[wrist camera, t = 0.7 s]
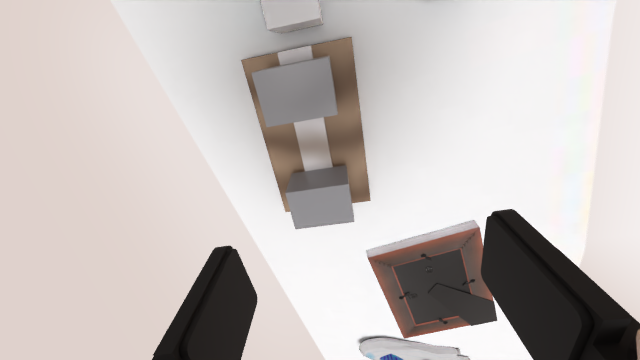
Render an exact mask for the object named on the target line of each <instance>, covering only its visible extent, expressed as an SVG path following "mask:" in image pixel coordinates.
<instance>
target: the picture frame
mask: <svg viewBox="0 0 640 360" xmlns="http://www.w3.org/2000/svg"><path fill="white" fill-rule="evenodd" d="M482 254H483V244H482V238H481V233H480V228H479V226H478V225H477V223H476V222H475V221H474V220H473V221H469V222H465V223H462V224H458V225H455V226H451V227H448V228H444V229H441V230H437V231H434V232H430V233H427V234H423V235H420V236H416V237H413V238H409V239H406V240H402V241H399V242H395V243H392V244H388V245H385V246H381V247H378V248H374V249H371V250H367V257H368V260H369V262H370V264H371V266H372V268H373V271H374V273H375V275H376V277H377V280H378V282H379V284H380V286H381V288H382V291H383V293H384V295H385V297H386V299H387V302H388V304H389V306H390V308H391V311H392V313H393V315H394V317H395V319H396V322H397V324H398V326H399V328H400V330H401V333H402V335H403V337H404V338H408V337H413V336H418V335H423V334H428V333H433V332H438V331H443V330H448V329H453V328H458V327H463V326H468V325H471V326H473V325H478V324H483V323H488V322H493V321H497V317H496V311H495V305H494V301H493V297H492V294H491V292H490V291H489V289H488V287H487V286H486V284H485V283H484V281H483V279H482V276H481V263H482Z"/></svg>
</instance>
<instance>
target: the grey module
mask: <svg viewBox="0 0 640 360" xmlns="http://www.w3.org/2000/svg"><path fill="white" fill-rule="evenodd" d="M260 2H261V6H262V10H263V14H264V19H265V23H266V27H267V30H270V31H274V32H278V33H286V32H290V31H295V30H299V29H304V28H308V27H313V26H318V25H322V24H323V20H322V14H321V7H320V1H319V0H260Z"/></svg>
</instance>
